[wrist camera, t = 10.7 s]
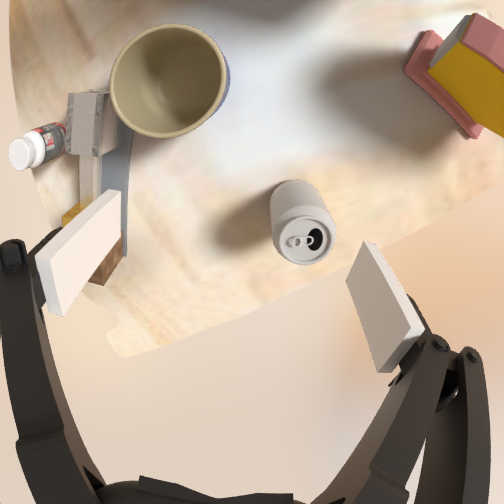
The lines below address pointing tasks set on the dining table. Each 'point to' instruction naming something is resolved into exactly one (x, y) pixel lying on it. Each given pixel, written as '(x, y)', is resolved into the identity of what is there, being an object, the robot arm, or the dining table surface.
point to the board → (118, 176)
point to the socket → (108, 263)
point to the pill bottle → (37, 146)
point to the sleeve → (92, 124)
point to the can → (301, 223)
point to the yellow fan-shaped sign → (464, 73)
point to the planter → (168, 81)
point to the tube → (86, 185)
